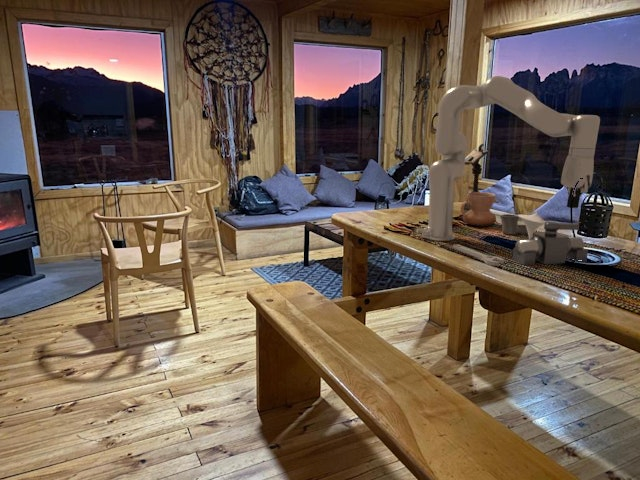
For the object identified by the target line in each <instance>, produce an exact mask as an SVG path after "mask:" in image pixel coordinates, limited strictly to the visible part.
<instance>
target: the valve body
mask: <svg viewBox="0 0 640 480" xmlns="http://www.w3.org/2000/svg"><path fill="white" fill-rule="evenodd" d="M544 230H545V231H540V232H539V231H538V232H536V231H535V232H534V233H533V236H532V237H531V238H530V240H529V239H521V240H520V239H519V240H517V241H516V242H515V245H514V246H515V247H513V250H512V251H513V252H512V260H514V261H515V262H517V263H519V264H521V265H523V266H528V265H530V266H531V265H536V262H538V263H540V264H543V265H554V264H555V265H556V264H566V263H565V261H566V262H567V259H568V258H570V259H574V260H582V261H583V262H587V261H588V254H589V249H588V248H584V246H585V244H584V241H583V239H582V238H581V237H579V236H577V237H570V236H567V235H566V234H565V235H564V234H561V233H559V232H558V230H555V231H553V230H546V229H544ZM567 257H568V258H567ZM570 259H569V260H570Z"/></svg>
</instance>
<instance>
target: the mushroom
mask: <svg viewBox="0 0 640 480" xmlns="http://www.w3.org/2000/svg"><path fill="white" fill-rule="evenodd" d="M517 216H519V219H520V221H521V220H522V222H523V223H524V224H523V225H526V228H527V231H528V234H527V235H528V240H530V238H531V237H533V233H535V232H536V230H537V229H538V228H540V227H541V226H544V225H545V222H546V221H545V220H544V219H543V218H542V217H541V216H540V215H539V213H538V212H537V211H536V212H535V213H533V214H517Z"/></svg>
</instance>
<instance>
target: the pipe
mask: <svg viewBox="0 0 640 480" xmlns="http://www.w3.org/2000/svg"><path fill="white" fill-rule="evenodd" d="M499 216H500V220H501V228H502V229H501V232H502V234H504V235H528V231H527V228H526V225H525V224H519V223H518V222H519V219H520V217H519V216H518V214H517V215H516V214H510V213H509V214H508V213H507V214H505V213H504V214H500V215H499Z"/></svg>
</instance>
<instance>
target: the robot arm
mask: <svg viewBox="0 0 640 480" xmlns="http://www.w3.org/2000/svg"><path fill="white" fill-rule="evenodd" d="M537 98H538V97H536V96H535V94H534V93H532V92H531V91H530V90H527V89H526V88H522V87H521V86H519V85H518V84H515V83H514V82H513V80H512V79H511V78H509V77H506V76H501V75H494V76H492V77H490V78H488V79H487V80H486V82H484V83H481V84H478V85H469V84H461V85H457V86H454V87H452V88H450V89H448V90H447V91H446V93H444V94H443V96H442V97H441V99H440V102H439V106H438V107H439V108H438V115H437V124H436V131H435V139H434V140H435V141H434V150H435V152H436V153H437V155H440V156H442V159H439V160H436V161H434V162H433V163H432V164H431V165H430V167H429V169H428V183H429V184H428V185H429V198H428V200H429V203H428V219H427V220H428V222H427V223H428V224H427V225H425V227H423V228H416V230H415V231H416V232H415V233H416V234H422V235H423V238H425V239H427V240H430V241H437V242H439V241H440V242H443V241H446V242H448V241H453V240H454V239H456V237H457V236H456V234H455V233H453V217H454V204H455V203H454V201H455V190H454V189H455V188H454V182H455V181H457V180H459V179H460V178H461V177H462V175H463V173H464V170H465V158H466V157H467V156H466V155H467V149H468V142H467V138H466V136H465V134H464V133H463V132H461V131H460V127H461V111H463V110H476V109H480V108H484V107H487V106H491V105H495V104H496V105H498V106H500V107H502V108H503V109H505V110H507V111H509V112H510V113H512V114H513V115H515V116H517V118H519V119H521V120H523V121H524V122H526V124H529V125H530V126H532V127H533V128H535V129H537V130H538V131H540V132H542V133H544V134H546V135H547V136H549V137H552V138H559V137H568V136H571V138H570V145H569V150H568V155H567V157H566V159H565V162H564V165H563V168H562V173H561V178H560V184H561V185H562V186H563V187H564V188H565V189H566V190H567V197H568V199H567V204H566V208H570V209H575V208H576V209H577V208H579V204H580V199H581V197H582V196H583V194H584V193H585V194H586V193H588V192H589V189H590V187H592V182H593V177H594V169H595V167H594V164H595V161H594V160H595V159H594V158H595V153H596V145H597V141H598V134H599V128H600V123H601V117H600V116H598V115H595V114H579V115H577V114H576V115H575V114H569V113H563V112H562V113H560V112H558V111H556V110H555V109H552V108H551V107H549V106H547V105H545V104H544V103H542V102H541V101H540V100H538V99H537ZM580 178H583V179H580ZM578 181H579V182H578ZM577 182H578V184H577V187H576V189H575V190H574V188H575V185H576V183H577ZM573 191H574V194H573ZM572 195H573V199H572ZM571 202H572V208H571Z"/></svg>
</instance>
